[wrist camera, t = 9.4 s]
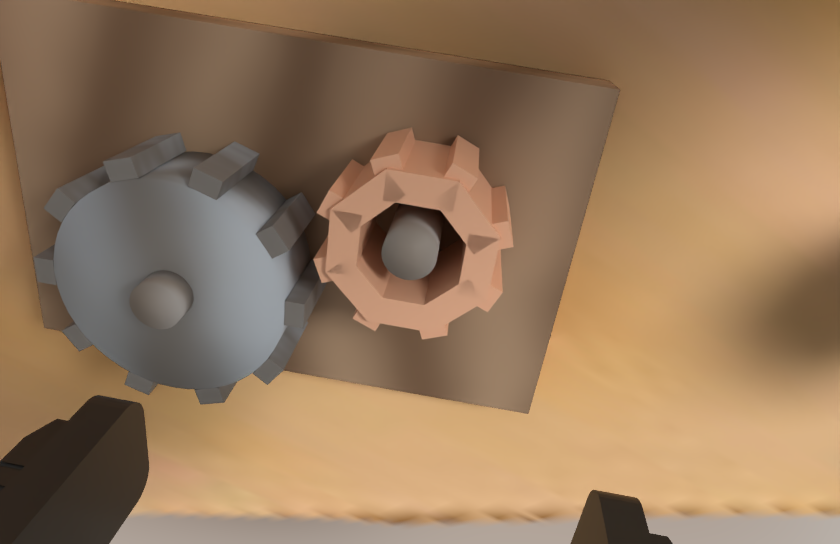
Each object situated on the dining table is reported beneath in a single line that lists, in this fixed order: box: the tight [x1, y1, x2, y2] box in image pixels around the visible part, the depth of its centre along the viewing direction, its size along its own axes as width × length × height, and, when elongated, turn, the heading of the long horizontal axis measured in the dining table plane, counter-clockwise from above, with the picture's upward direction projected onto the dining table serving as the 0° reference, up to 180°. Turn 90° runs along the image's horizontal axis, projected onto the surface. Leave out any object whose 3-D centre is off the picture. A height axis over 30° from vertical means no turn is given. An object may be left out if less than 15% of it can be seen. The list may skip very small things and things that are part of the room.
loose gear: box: [313, 127, 514, 339], centre depth 21 cm, size 6×6×4 cm
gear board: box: [0, 0, 620, 414], centre depth 23 cm, size 22×14×6 cm, turn 82°
